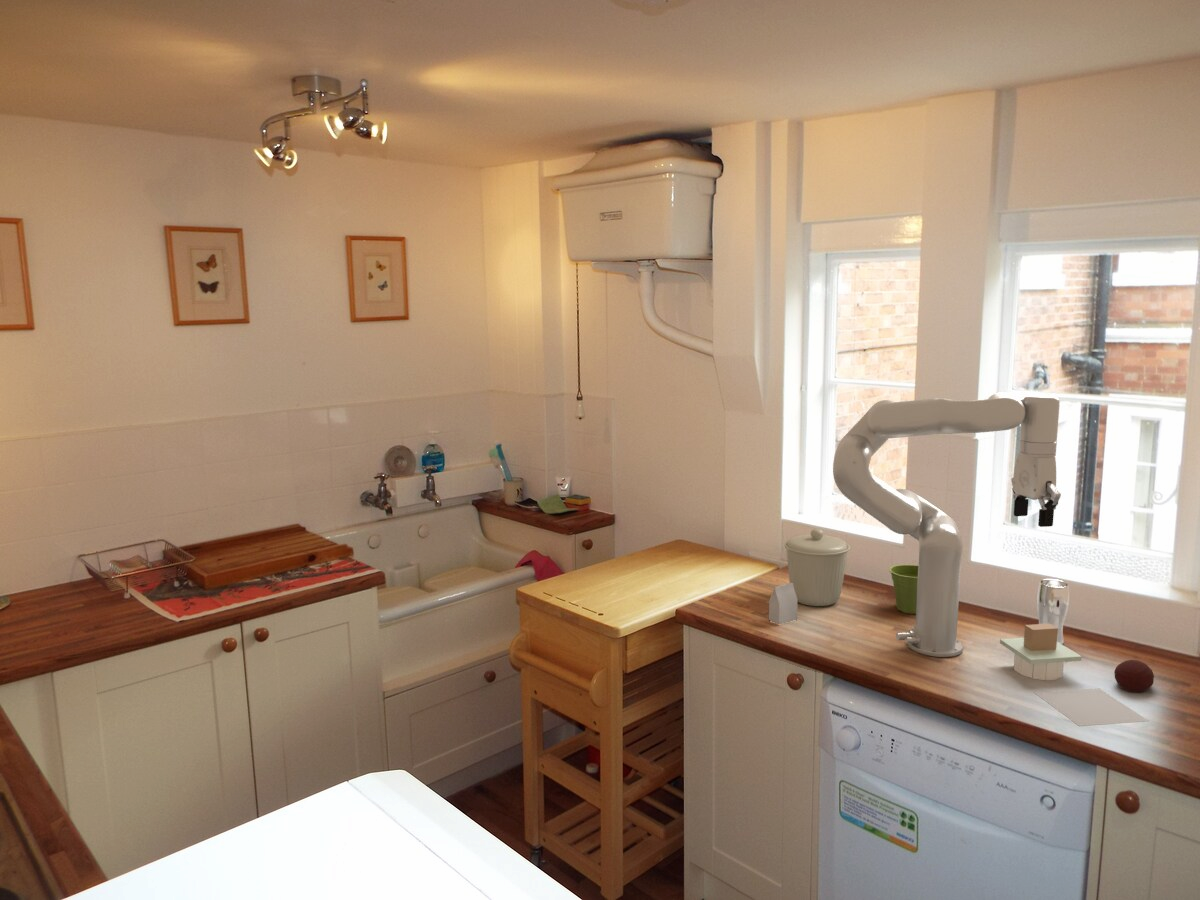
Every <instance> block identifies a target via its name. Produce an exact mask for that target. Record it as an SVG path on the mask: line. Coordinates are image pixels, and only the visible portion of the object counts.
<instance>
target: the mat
mask: <svg viewBox="0 0 1200 900" xmlns="http://www.w3.org/2000/svg"><path fill="white" fill-rule="evenodd" d="M1034 694H1035V695H1036V696H1038V697H1039V698H1040V699H1041V700H1042V701H1045V702H1046V703H1047V704H1048V705H1050V706H1051V707H1053V708H1054V709H1056V710H1057V711H1058V712H1059V713H1060V714H1062V715H1063V716H1065V717H1066V718H1068V719H1069V720H1071V722H1073V723H1074V724H1076V725H1077V726H1078V727H1084V726H1087V727H1088V726H1097V725H1098V726H1100V725H1114V724H1127V723H1139V722H1149V720H1148V719H1147V718H1145V717H1144V716H1142V715H1141V714H1140V713H1138V712H1137V711H1135V710H1133V709H1132V708H1130V707H1129V706H1127V705H1125V704H1124V703H1122V702H1121V701H1120V700H1117V699H1116V698H1115V697H1114V696H1112V695H1110V694H1109V693H1107V692H1105V691H1104V690H1102V689H1101V688H1084V689H1071V690H1054V691H1042V692H1034Z"/></svg>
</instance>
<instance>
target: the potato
mask: <svg viewBox="0 0 1200 900" xmlns="http://www.w3.org/2000/svg"><path fill="white" fill-rule="evenodd" d="M1113 673H1114V678H1115V679H1114V680H1115V681H1116V683H1117V685H1118V686H1119V687H1120V688H1122V689H1123V690H1125V691H1128V692H1132V693H1142V692H1146V691H1147V690H1149V689H1150V688H1151V687H1152V686H1153V685H1154V681H1155V680H1154V679H1155V675H1154V672H1153V669H1152V668H1150V666H1148V664H1146V663H1145V662H1143V661H1140V660H1136V659H1129V660H1124V661H1122V662H1121V663H1119V664H1118V665H1117V666H1115V669H1114V672H1113Z"/></svg>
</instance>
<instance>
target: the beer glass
mask: <svg viewBox="0 0 1200 900" xmlns="http://www.w3.org/2000/svg"><path fill="white" fill-rule="evenodd" d="M1036 597H1037V598H1036V606H1037V607H1036V609H1037V616H1038V624H1051V625H1053V626H1055V627H1056V628H1058V633H1057V642H1059V643H1060V644H1062V645H1063V644H1064V641H1065V640H1064V632H1063V629H1064V624H1065V621H1066V617H1067V613H1068V610H1069V603H1070V584H1069V582H1066V581H1064V580H1061V579H1055V578H1043V579H1040V580H1039V584H1038V588H1037V595H1036Z"/></svg>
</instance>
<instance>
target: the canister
mask: <svg viewBox="0 0 1200 900" xmlns="http://www.w3.org/2000/svg"><path fill="white" fill-rule="evenodd" d="M783 546H784V548H785V550H786V559H787V560H786V561H787V570H788V579H789V583H793V586H794V590H795V593H796V596H797V603H800V604H802V605H805V606H810V607H827V606H832V605H834V604H835V603H837V602H838V601H839V599H840V597H841V594H842V589H843V583H844V579H845V571H846V570H845V569H846V564H847V557H848V553H849V551H850V550H851V546H850V544H849V543H847V542H846V541H845V540H843V539H841V538H839V537H836V536H832V535H827V534H824V531H823V529H821V528H813V529H811V531H810V533H806V534H799V535H794V536H792V537H790V538H788V539H786V540H785V541H784V543H783Z"/></svg>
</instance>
